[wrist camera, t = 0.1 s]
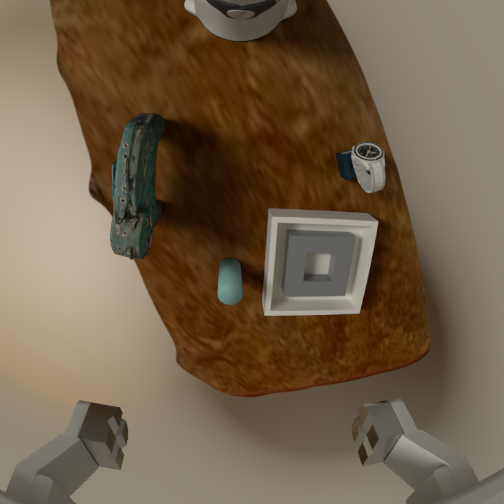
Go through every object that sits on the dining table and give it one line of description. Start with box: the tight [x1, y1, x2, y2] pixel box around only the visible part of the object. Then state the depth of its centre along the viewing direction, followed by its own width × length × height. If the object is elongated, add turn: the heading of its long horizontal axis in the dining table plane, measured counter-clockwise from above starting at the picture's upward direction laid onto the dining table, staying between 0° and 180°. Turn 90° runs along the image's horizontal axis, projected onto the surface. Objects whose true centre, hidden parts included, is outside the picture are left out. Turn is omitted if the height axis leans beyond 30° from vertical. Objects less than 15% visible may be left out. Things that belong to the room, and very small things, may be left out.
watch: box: [336, 142, 386, 193], centre depth 49 cm, size 6×8×11 cm
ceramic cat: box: [110, 113, 165, 260], centre depth 43 cm, size 20×6×20 cm, turn 173°
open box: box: [262, 208, 378, 316], centre depth 58 cm, size 19×19×5 cm
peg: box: [218, 257, 243, 305], centre depth 56 cm, size 4×4×10 cm
